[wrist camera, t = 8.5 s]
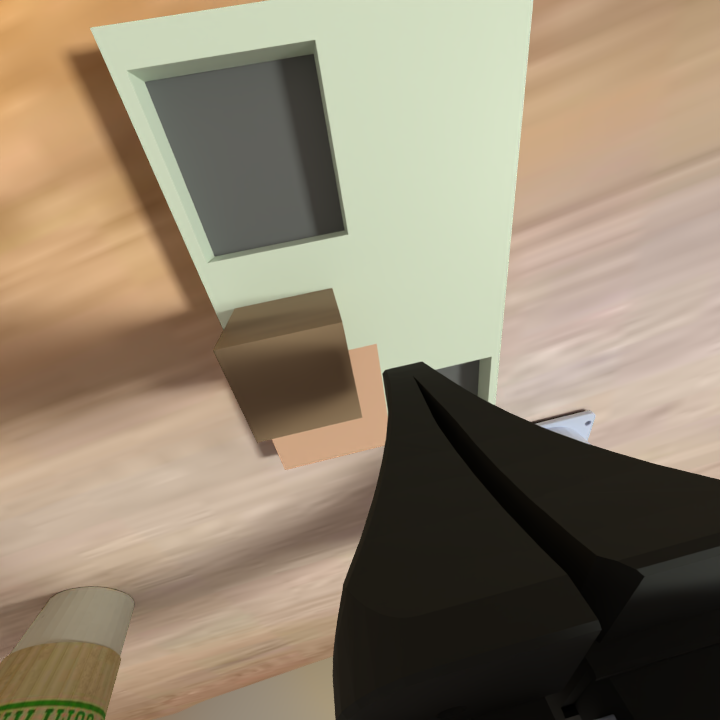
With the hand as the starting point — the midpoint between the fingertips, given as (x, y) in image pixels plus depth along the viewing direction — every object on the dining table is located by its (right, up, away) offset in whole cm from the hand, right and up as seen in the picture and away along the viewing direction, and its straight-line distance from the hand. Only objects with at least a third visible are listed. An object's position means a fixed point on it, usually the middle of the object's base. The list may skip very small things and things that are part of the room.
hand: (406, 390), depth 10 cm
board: (-1, +5, +6) cm, 8 cm away
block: (-5, +2, +5) cm, 7 cm away
